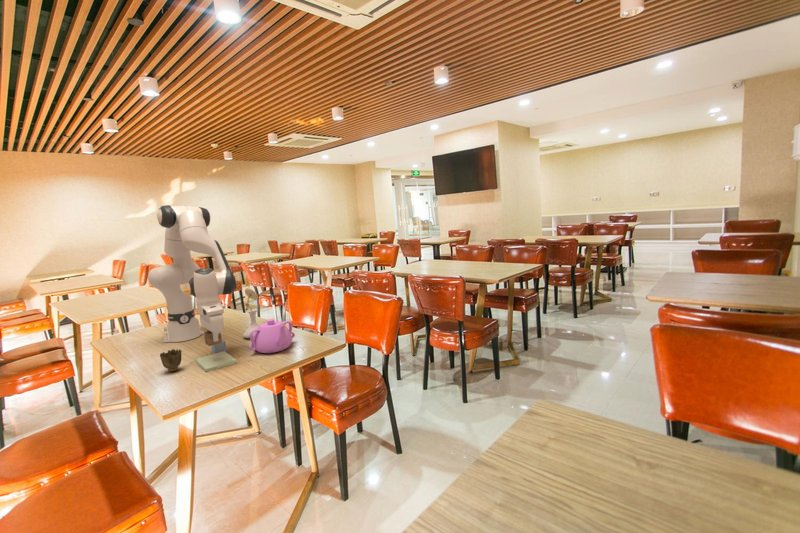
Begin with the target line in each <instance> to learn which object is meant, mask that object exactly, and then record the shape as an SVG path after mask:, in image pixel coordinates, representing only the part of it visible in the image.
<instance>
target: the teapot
mask: <svg viewBox="0 0 800 533" xmlns="http://www.w3.org/2000/svg"><path fill="white" fill-rule="evenodd" d="M286 324H288V326H289V327H287V325H286ZM292 331H293V322H291V321H290V320H284V321H281V320H275V319H274V318H269V319H268V318H267V320H266V322H263V323H261V324H260V325H259V327H258V329H254V330H252V331H251V332H250V334H249V337H250V338H249V339H250V342H251V343H249V345H248V349H249V350H250V351H254V350H255V351H257V353H260V354H261V353H262V354H272V353H273V354H274V353H277V352H281V351H284V350H286V349H287V348H289V347H290V346H291V344H292V343H293V338H294V337H295V335H296V334H295V333H294V332H292ZM254 332H256V333H255V335H254V338H253V336H252V335H253V333H254Z"/></svg>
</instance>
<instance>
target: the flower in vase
mask: <svg viewBox="0 0 800 533" xmlns="http://www.w3.org/2000/svg"><path fill="white" fill-rule="evenodd" d="M243 292H244V294H245V295H246V296H247V297H248V300H247V301H248V302H245V305H244V306H246V307H248V308H250V309H248V310H246V313H248V315H249V317H250V322H251V323H250V326H248V328H246V330H244V332H243V333H242V337H243V338H246V339H250V337H249V334H250V332H251V331H252V330H254V329H258V327H259V326H260V325H258V323H257V318H256V315H257V312H258V309H257V308H253V309H252V307H255V304H254V305H251V306H250V299H251V300H254V301H256V300H258V299H259V295H258V294H257V293H256V291H254V290H253V289H252V288H248V287H246V288H245V289H244V291H243ZM255 333H256V332H254V333H253V335H252V336H253V338H254V335H255Z"/></svg>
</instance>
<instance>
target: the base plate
mask: <svg viewBox="0 0 800 533" xmlns="http://www.w3.org/2000/svg"><path fill="white" fill-rule="evenodd" d="M194 362H195V364H197V365H198V366H199V367H200V368H201V369H202V370H203V371H204V372H205V373H209V372H211V371H215V370H218V369H221V368H224V367H228V366H231V365H235V364H237V363H238V362H237V359H236V358H235V357H233V356H232V355H230V354H229V353H228V352H225V351H223V352H219V353H215V354H213V353H212V354H208V355H204V356H202V357H197V358H194Z"/></svg>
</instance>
